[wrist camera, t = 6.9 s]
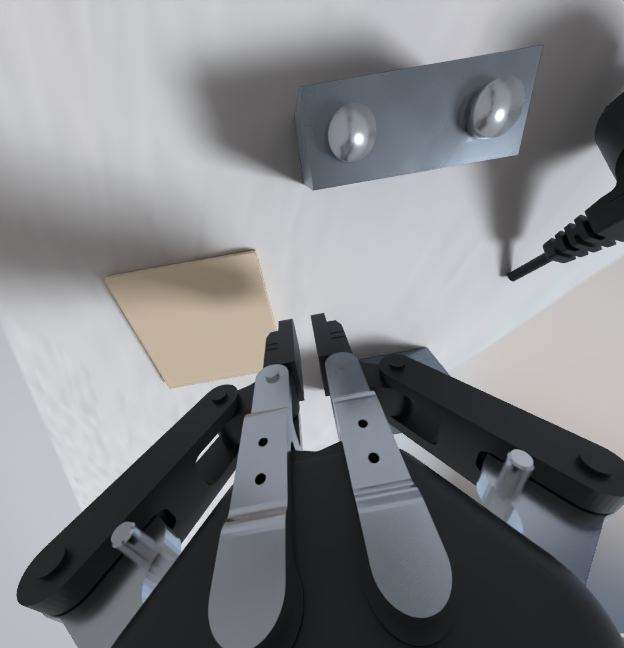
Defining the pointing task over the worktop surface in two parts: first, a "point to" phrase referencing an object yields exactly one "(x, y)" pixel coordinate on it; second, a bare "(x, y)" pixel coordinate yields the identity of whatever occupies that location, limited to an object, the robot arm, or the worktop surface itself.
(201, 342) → the mat
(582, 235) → the power plug
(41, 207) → the worktop surface
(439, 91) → the metal blocks
